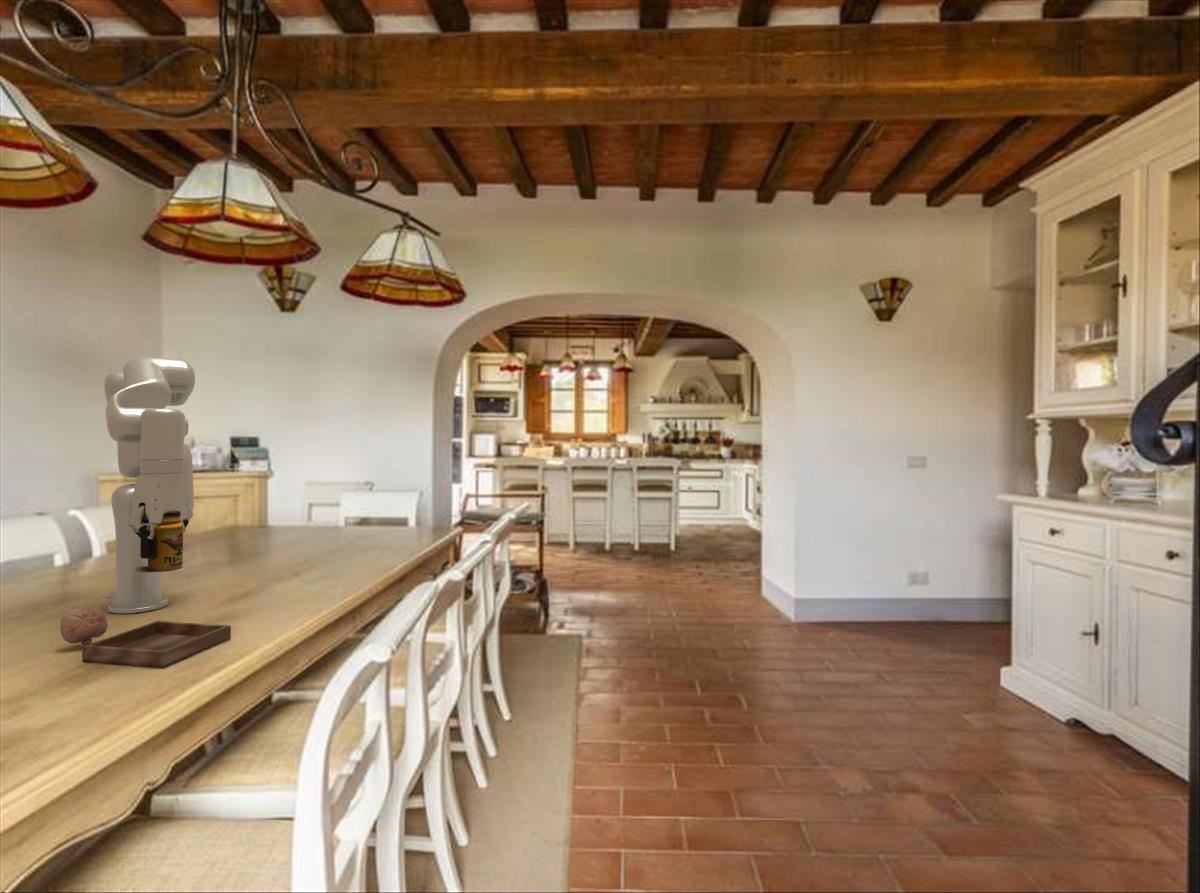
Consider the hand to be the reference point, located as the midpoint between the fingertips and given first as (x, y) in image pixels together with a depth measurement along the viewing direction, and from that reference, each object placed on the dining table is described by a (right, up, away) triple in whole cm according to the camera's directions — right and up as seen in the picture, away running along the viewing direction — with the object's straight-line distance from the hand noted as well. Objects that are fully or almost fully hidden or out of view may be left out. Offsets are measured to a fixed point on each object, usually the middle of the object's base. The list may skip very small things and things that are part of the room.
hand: (162, 554), depth 136 cm
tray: (0, -20, 0) cm, 20 cm away
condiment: (0, -3, 0) cm, 3 cm away
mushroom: (-17, -20, +1) cm, 26 cm away
